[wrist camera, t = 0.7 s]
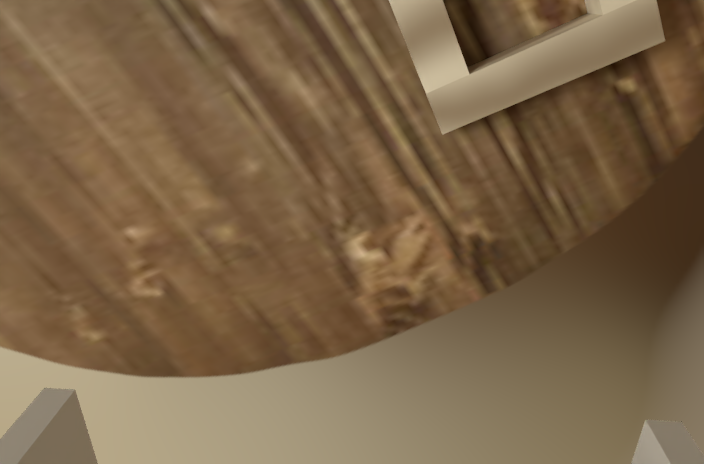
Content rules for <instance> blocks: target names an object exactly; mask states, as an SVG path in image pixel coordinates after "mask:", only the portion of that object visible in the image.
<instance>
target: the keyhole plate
mask: <svg viewBox="0 0 704 464" xmlns="http://www.w3.org/2000/svg"><path fill="white" fill-rule="evenodd" d="M389 2H390V5H391V7H392V10H393V12H394V15H395V17H396V20H397V22H398V25H399V27H400V30H401V32H402V35H403V37H404V40H405V42H406V45H407V47H408V50H409V52H410V55H411V57H412V60H413V62H414V65H415V67H416V70H417V72H418V75H419V77H420V80H421V82H422V85H423V87H424V90H425V92H426V95H427V97H428V100H429V102H430V105H431V107H432V110H433V112H434V115H435V118H436V120H437V123H438V125H439V128H440V130H441V133H442V135H443V134H445V133H448V132H450V131H452V130H455V129H457V128H459V127H462V126H464V125H467V124H469V123H471V122H474V121H476V120H479V119H481V118H483V117H486V116H488V115H490V114H493V113H495V112H498V111H500V110H502V109H505V108H507V107H509V106H512V105H514V104H517V103H519V102H521V101H524V100H526V99H528V98H531V97H533V96H536V95H538V94H540V93H543V92H545V91H548V90H550V89H552V88H555V87H557V86H559V85H562V84H564V83H567V82H569V81H571V80H574V79H576V78H578V77H581V76H583V75H586V74H588V73H590V72H593V71H595V70H597V69H600V68H602V67H605V66H607V65H609V64H612V63H614V62H617V61H619V60H621V59H624V58H626V57H628V56H631V55H633V54H636V53H638V52H640V51H643V50H645V49H647V48H650V47H652V46H655V45H657V44H659V43H662V42H664V41H665V37H664V33H663V28H662V23H661V19H660V14H659V9H658V5H657V0H585V4H586V8H587V12H588V13H587V14H585V15H583V16H581V17H579V18H576V19H574V20H572V21H570V22H567V23H565V24H563V25H561V26H558V27H556V28H554V29H552V30H550V31H547V32H545V33H543V34H541V35H538V36H536V37H534V38H532V39H529V40H527V41H525V42H523V43H521V44H518V45H516V46H514V47H512V48H509V49H507V50H505V51H503V52H500V53H498V54H496V55H494V56H492V57H489V58H487V59H485V60H483V61H480V62H478V63H476V64H474V65H471V66H469V67H467V66H466V63H465V60H464V58H463V55H462V52H461V49H460V47H459V44H458V41H457V38H456V36H455V33H454V30H453V27H452V25H451V22H450V19H449V16H448V13H447V11H446V8H445V5H444V2H443V0H389Z"/></svg>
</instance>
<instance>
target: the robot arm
mask: <svg viewBox="0 0 704 464" xmlns="http://www.w3.org/2000/svg"><path fill="white" fill-rule="evenodd" d="M0 464H98V463H97V460H96V456H95V453H94V450H93V447H92V444H91V440H90V437H89V434H88V430H87V428H86V424H85V421H84V417H83V414H82V411H81V408H80V404H79V401H78V398H77V395H76V391H75V390H69V389H52V388H44V389H43V390H42V391H41V392H40V394H39V395H38V396H37V397H36V398H35V399H34V401H33V402H32V403H31V404H30V405H29V406H28V408H27V409H26V410H25V411H24V412H23V413H22V415H21V416H20V417H19V418H18V419H17V420H16V422H15V423H14V424H13V425H12V426H11V427H10V428H9V430H8V431H7V432H6V433H5V434H4V435H3V437H2V438H1V439H0ZM631 464H704V455H703V454H702V452H701V451H700V449H699V447H698V446H697V445H696V443H695V441H694V440H693V438H692V437H691V435H690V434H689V432H688V431H687V429H686V428H685V426H684V424H683V423H682V422H679V421H660V420H645V423H644V426H643V429H642V432H641V435H640V438H639V442H638V444H637V448H636V451H635V453H634V457H633V460H632V463H631Z"/></svg>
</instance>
